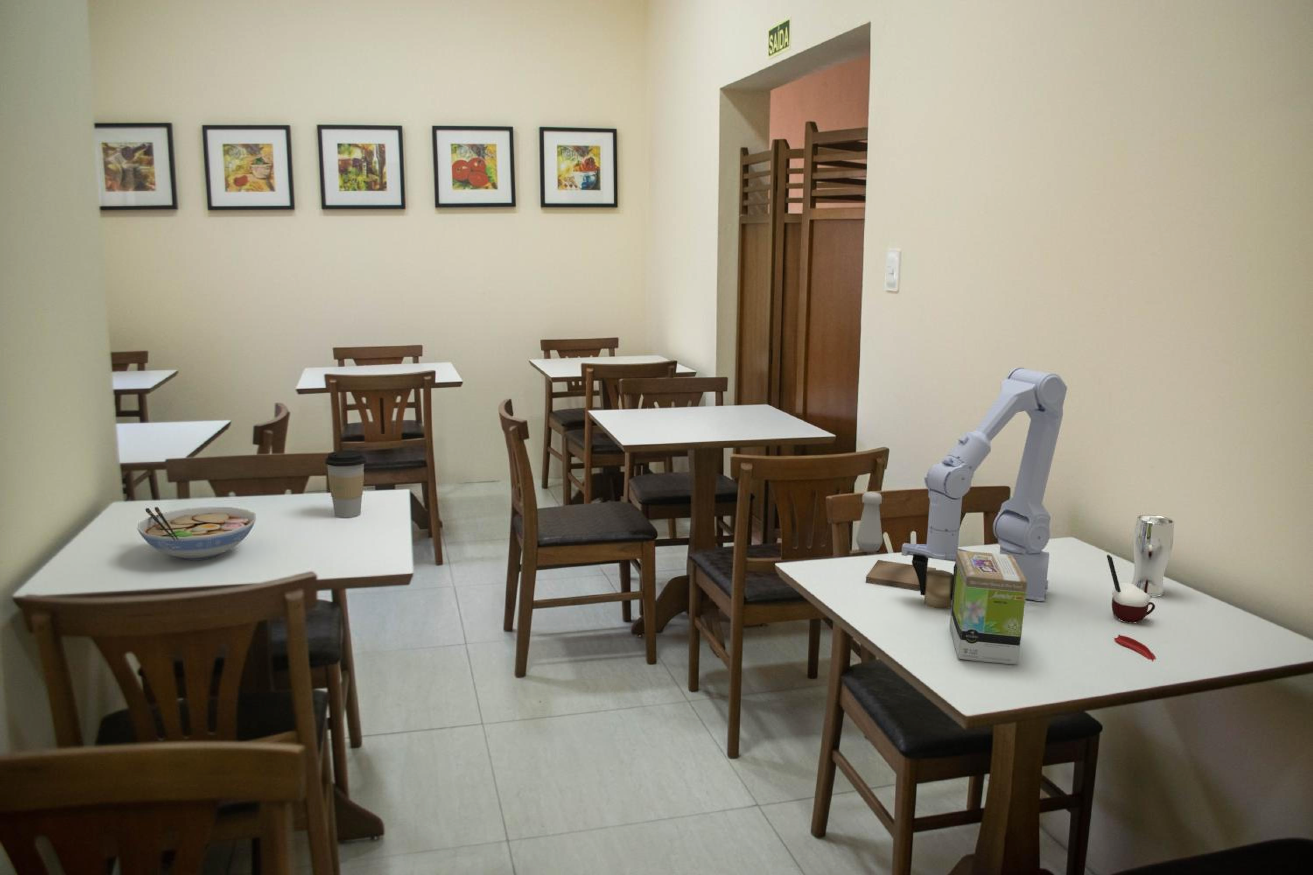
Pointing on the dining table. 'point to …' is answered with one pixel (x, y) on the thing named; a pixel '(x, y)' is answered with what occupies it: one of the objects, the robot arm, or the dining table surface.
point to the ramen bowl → (196, 530)
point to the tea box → (987, 607)
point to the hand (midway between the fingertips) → (938, 595)
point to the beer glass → (1151, 552)
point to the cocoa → (1128, 599)
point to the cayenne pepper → (1135, 646)
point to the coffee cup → (346, 481)
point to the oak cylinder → (938, 589)
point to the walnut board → (894, 575)
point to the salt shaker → (870, 523)
